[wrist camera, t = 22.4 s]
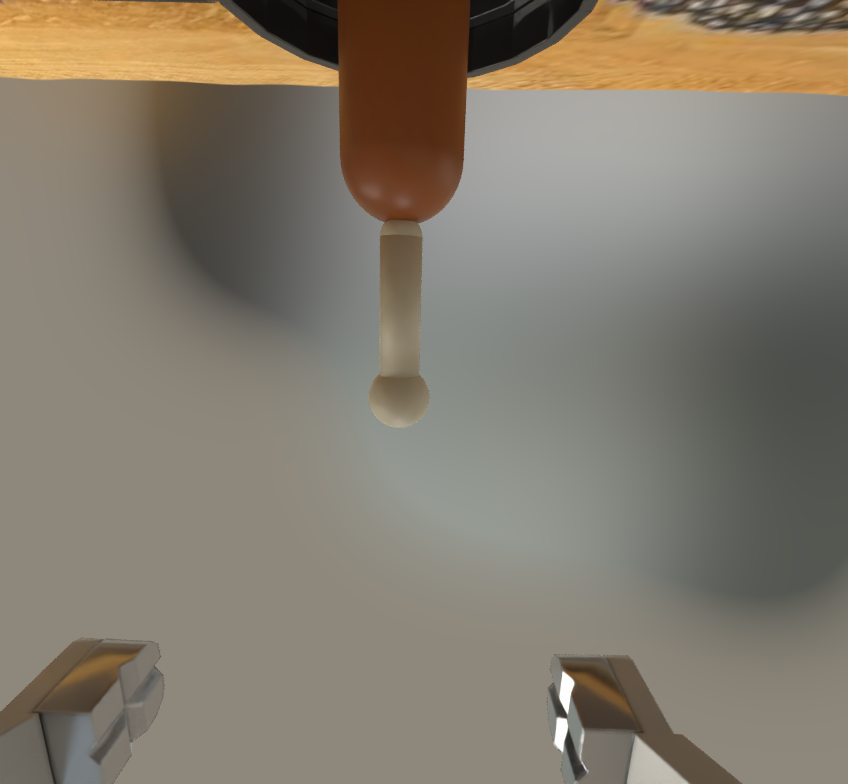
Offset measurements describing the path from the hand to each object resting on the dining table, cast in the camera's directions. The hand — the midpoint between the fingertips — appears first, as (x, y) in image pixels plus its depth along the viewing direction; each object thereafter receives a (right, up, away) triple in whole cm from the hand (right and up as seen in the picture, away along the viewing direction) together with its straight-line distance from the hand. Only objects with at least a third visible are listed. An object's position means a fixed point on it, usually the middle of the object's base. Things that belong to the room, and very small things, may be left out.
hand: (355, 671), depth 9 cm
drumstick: (+1, +25, +6) cm, 26 cm away
